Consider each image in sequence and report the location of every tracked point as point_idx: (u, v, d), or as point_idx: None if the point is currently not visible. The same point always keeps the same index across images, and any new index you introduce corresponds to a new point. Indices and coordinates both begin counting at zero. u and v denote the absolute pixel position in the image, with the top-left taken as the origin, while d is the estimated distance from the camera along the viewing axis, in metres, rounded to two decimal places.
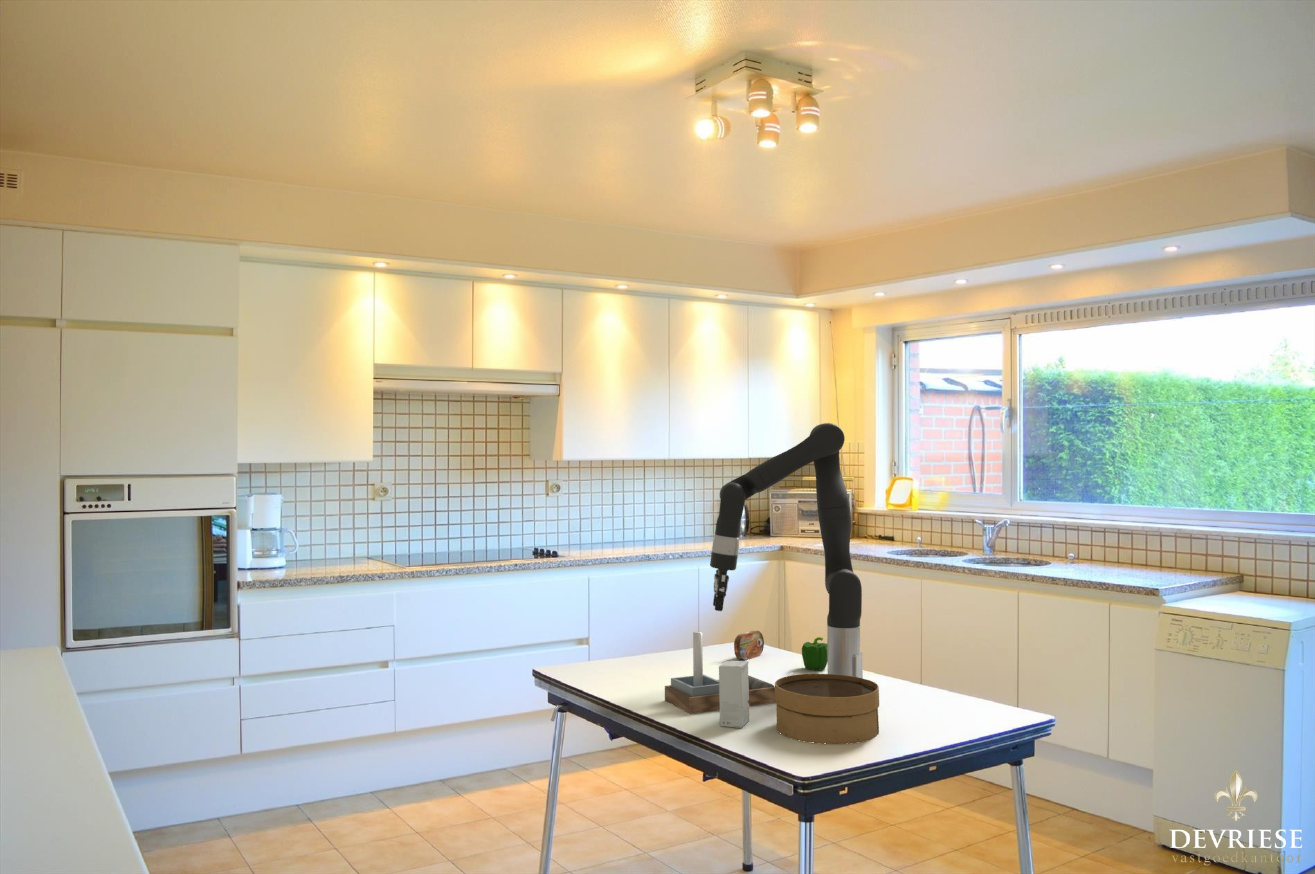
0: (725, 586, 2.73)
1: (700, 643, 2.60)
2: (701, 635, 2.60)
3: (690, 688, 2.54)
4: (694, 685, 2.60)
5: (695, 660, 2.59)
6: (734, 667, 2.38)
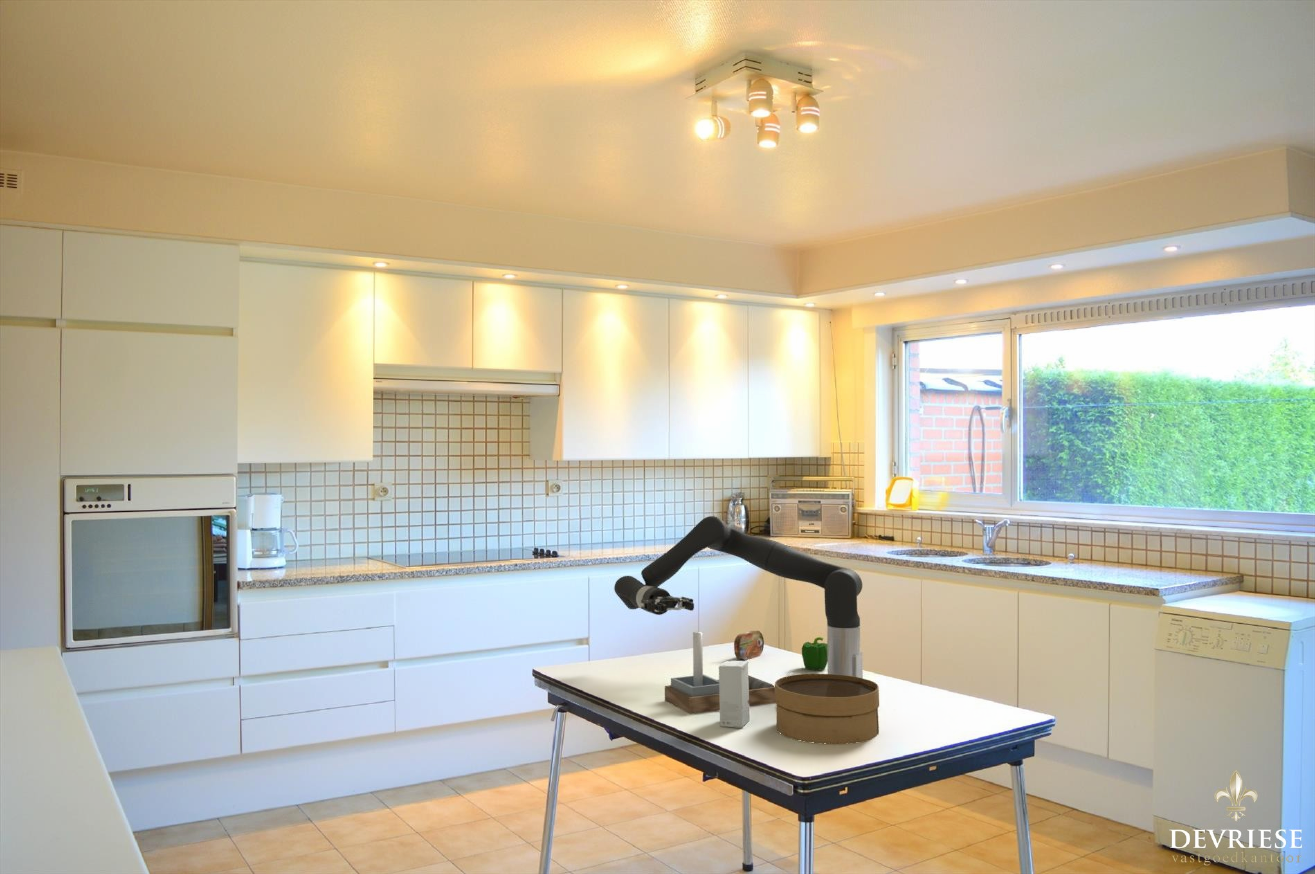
0: (644, 602, 2.74)
1: (700, 643, 2.60)
2: (701, 635, 2.60)
3: (690, 688, 2.54)
4: (694, 685, 2.60)
5: (695, 660, 2.59)
6: (734, 667, 2.38)
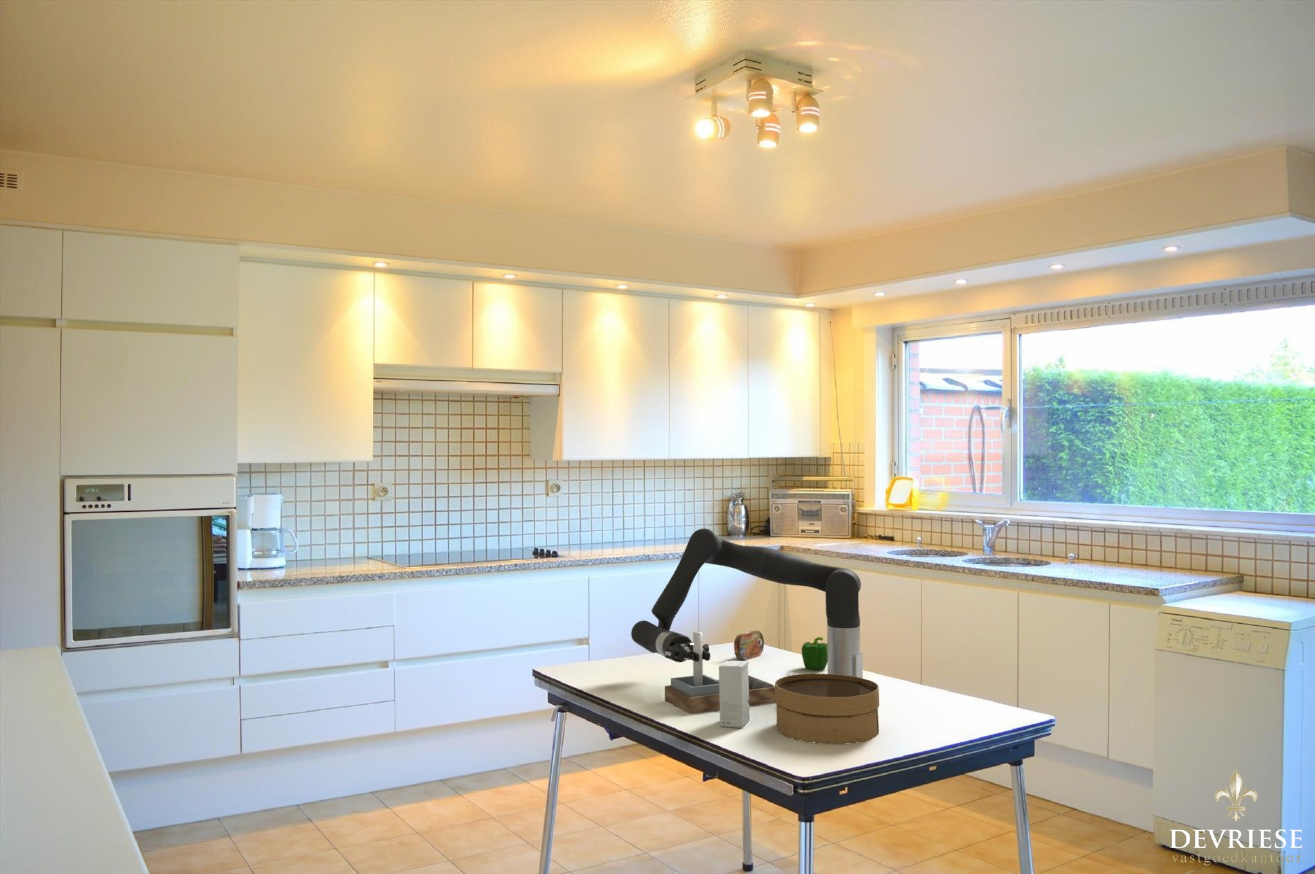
0: (673, 651, 2.62)
1: (700, 643, 2.60)
2: (701, 635, 2.60)
3: (690, 688, 2.53)
4: (694, 685, 2.60)
5: None
6: (734, 667, 2.38)
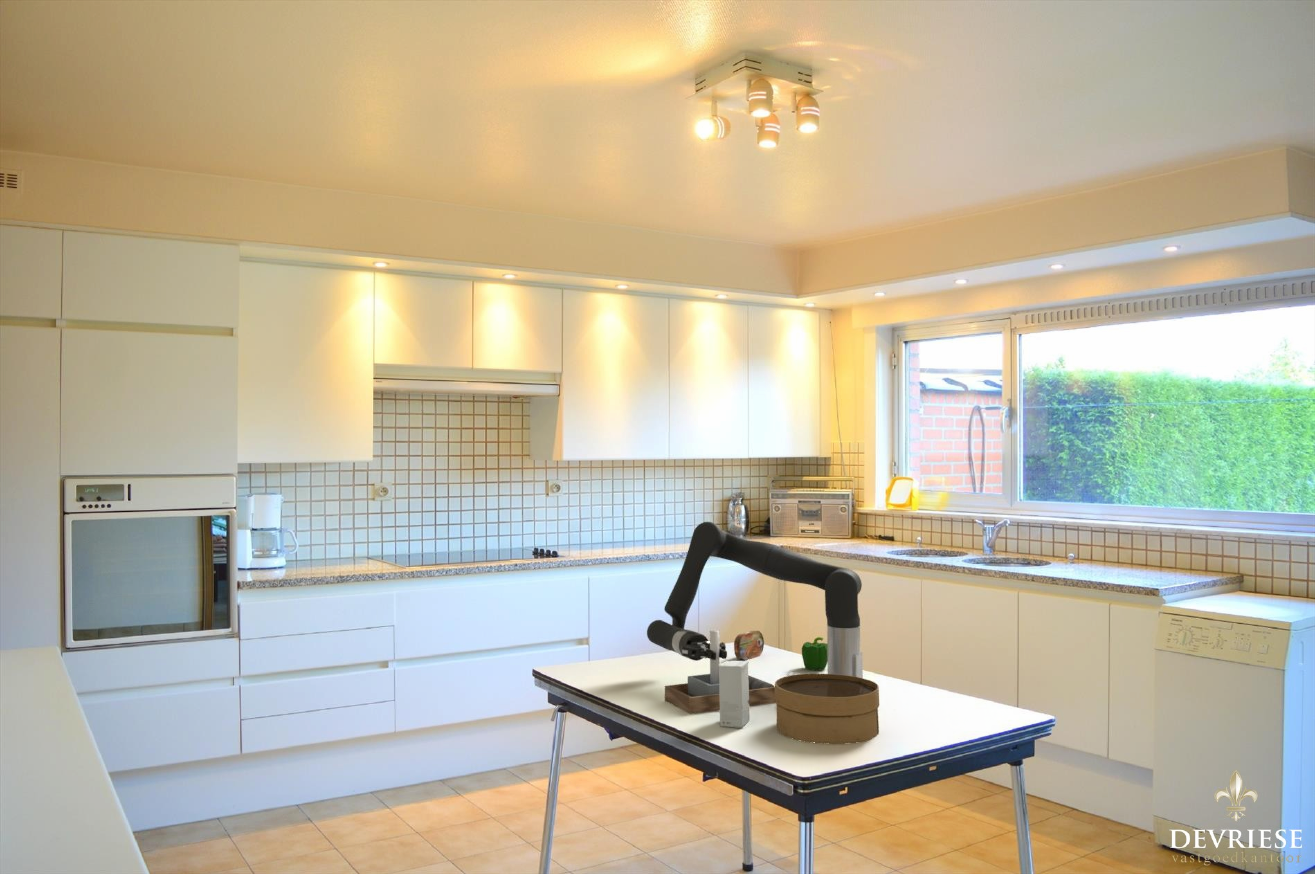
0: (690, 649, 2.64)
1: (717, 641, 2.62)
2: (718, 633, 2.62)
3: (707, 686, 2.56)
4: (711, 683, 2.62)
5: None
6: (734, 667, 2.38)
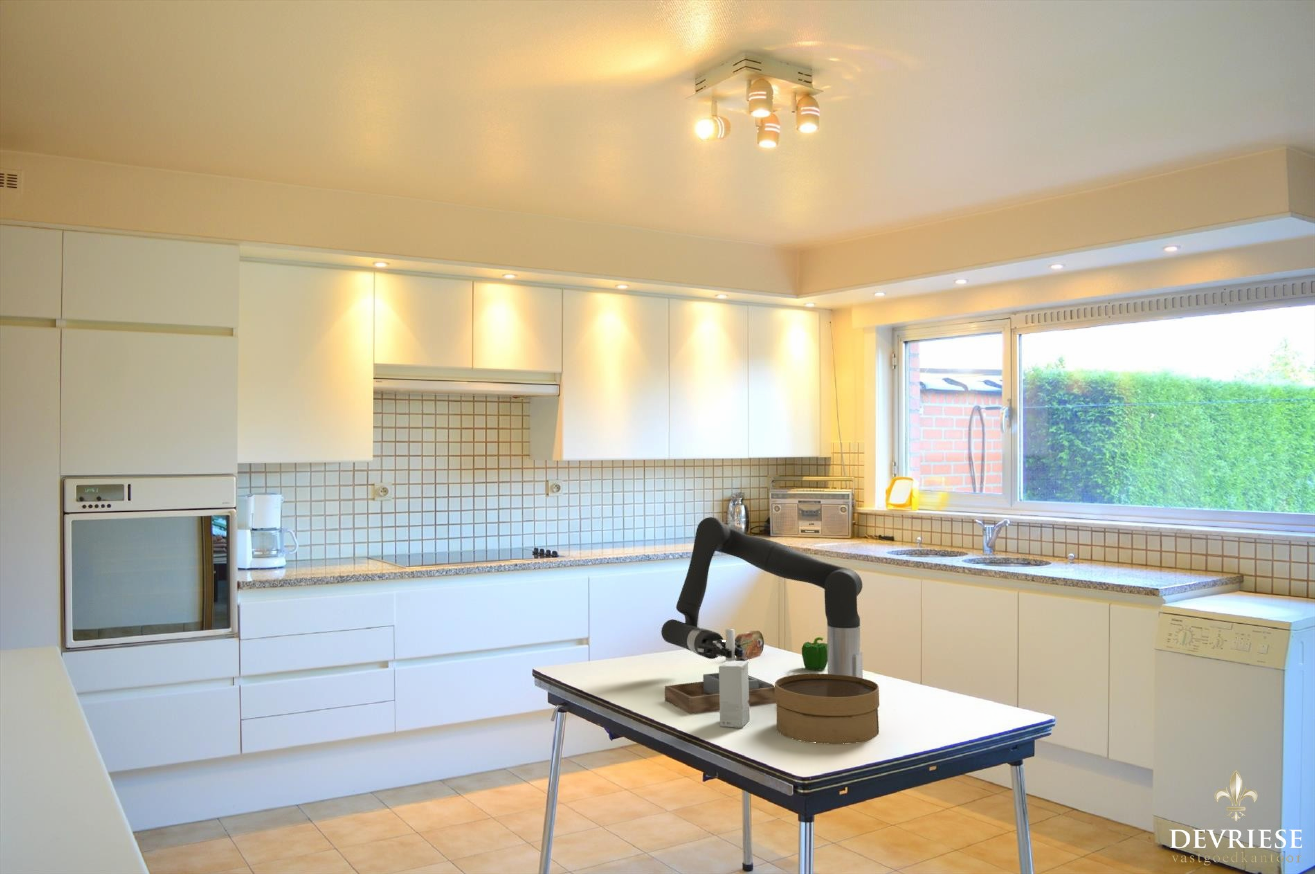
0: (706, 647, 2.66)
1: (732, 640, 2.64)
2: (733, 632, 2.64)
3: None
4: None
5: None
6: (734, 667, 2.38)
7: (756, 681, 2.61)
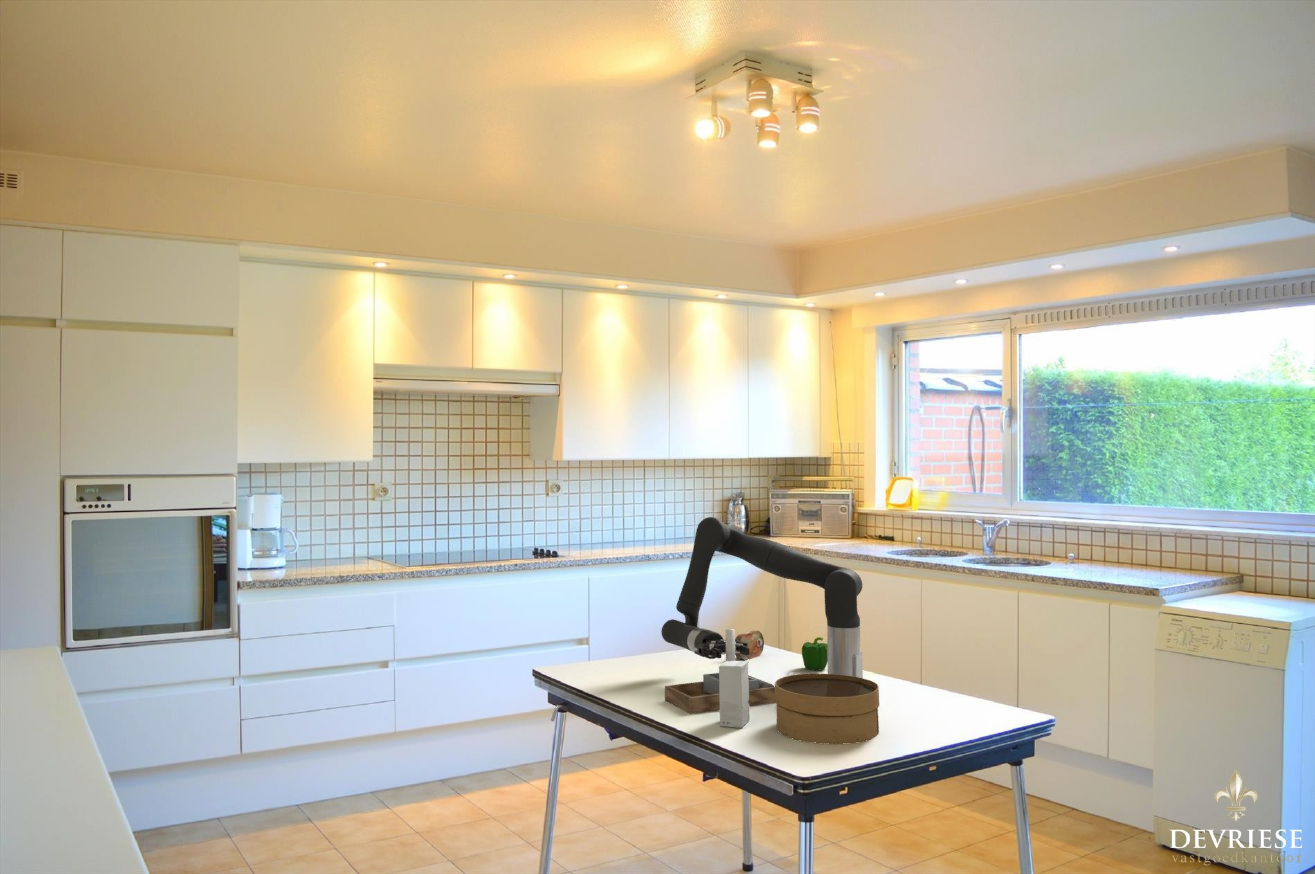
0: (698, 647, 2.67)
1: (732, 640, 2.64)
2: (733, 632, 2.64)
3: None
4: None
5: (727, 656, 2.64)
6: (734, 667, 2.38)
7: (756, 681, 2.61)
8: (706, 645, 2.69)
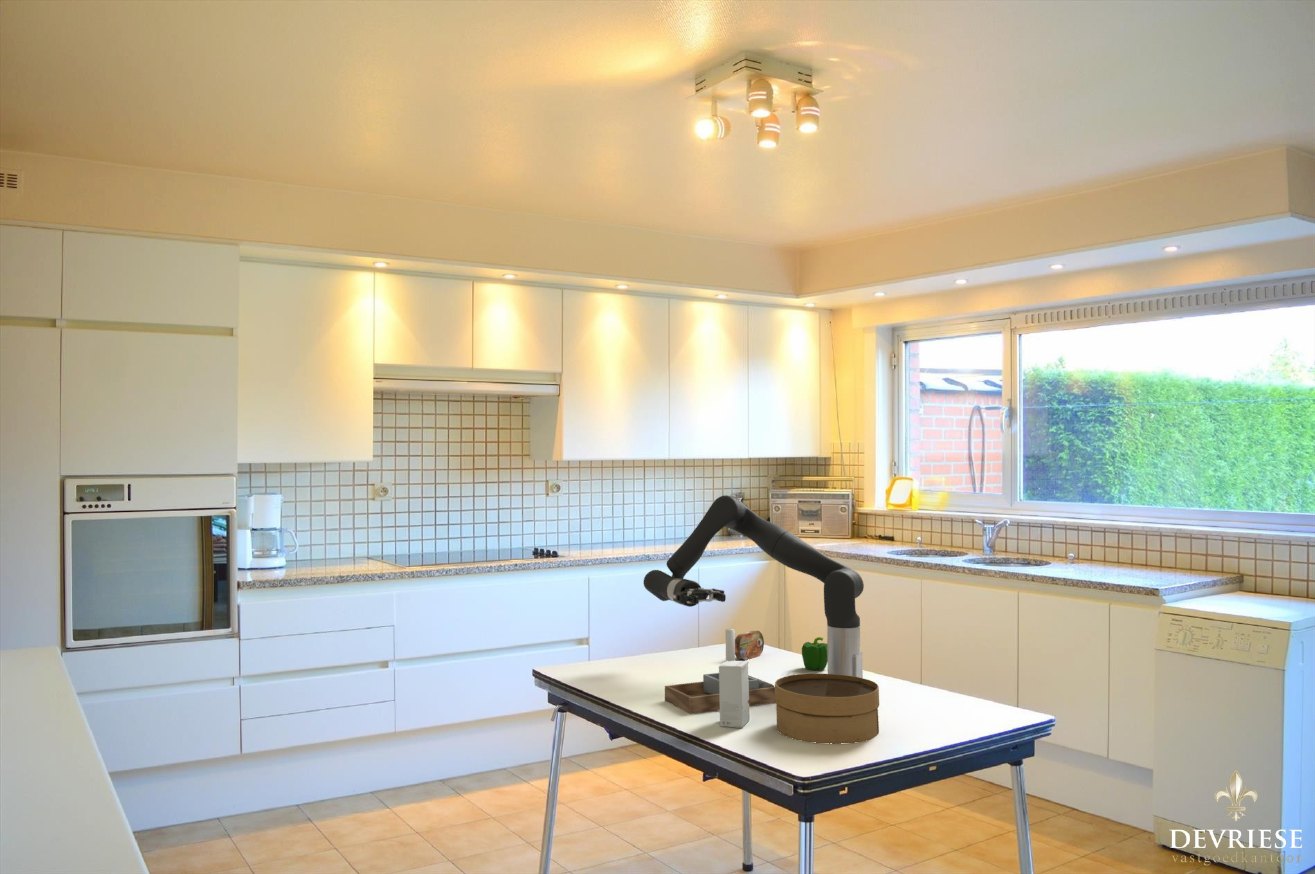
0: (676, 594, 2.79)
1: (732, 640, 2.64)
2: (733, 632, 2.64)
3: None
4: None
5: (727, 656, 2.64)
6: (734, 667, 2.38)
7: (756, 681, 2.61)
8: (684, 593, 2.81)
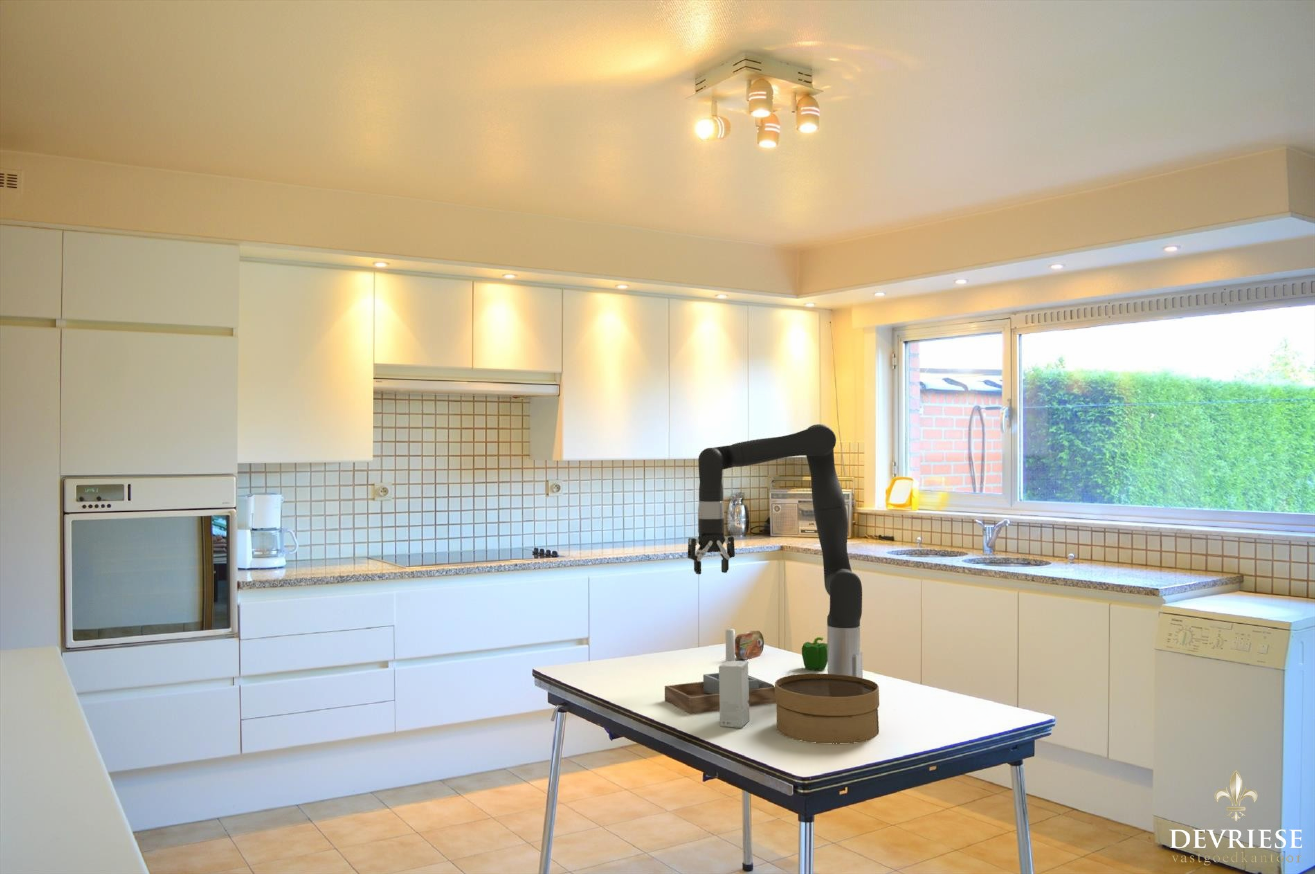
0: (691, 549, 2.79)
1: (732, 640, 2.64)
2: (733, 632, 2.64)
3: None
4: None
5: (727, 656, 2.64)
6: (734, 667, 2.38)
7: (756, 681, 2.61)
8: (701, 543, 2.81)
